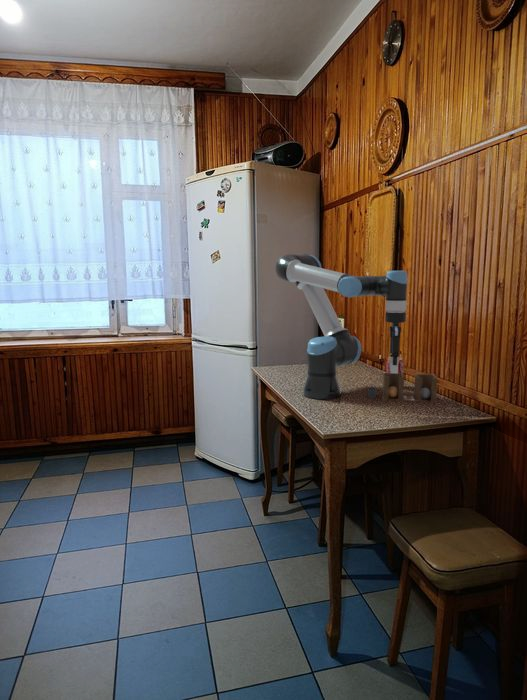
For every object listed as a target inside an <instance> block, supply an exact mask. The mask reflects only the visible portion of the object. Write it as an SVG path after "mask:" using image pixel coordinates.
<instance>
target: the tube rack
mask: <svg viewBox="0 0 527 700" xmlns="http://www.w3.org/2000/svg"><path fill="white" fill-rule="evenodd" d="M382 375H383V377H382V378H383V379H382V394H381V398H382V400H383V401H404V402H405V401H406V402H407V401H408V402H426V403H428V402H431V403H432V402H433V403H437V402H438V401H437V395H438V394H437V392H438V391H437V390H438V389H437V388H438V377H437V376H436V375H435V374H433V373H432V374H431V373H414V384H413V385H414V387H413V395H404V388H405V387H404V385H405V384H404V383H405V377H404V373H403V374H402V373H398V374H396V373H386V372H383V374H382ZM392 386H393V387H396V388H397V389H398V396H397V397H395V398H391V397H389V387H392ZM422 388H428V389H429V390H430V391H431V396H430V397H429V398H428V399H423V398H421V394H422Z"/></svg>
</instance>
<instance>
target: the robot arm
mask: <svg viewBox="0 0 527 700" xmlns="http://www.w3.org/2000/svg"><path fill="white" fill-rule="evenodd" d="M274 268H275V269H274V270H275V271H274V272H275V273H276V276H277V277H278V278H279V279H281V280H282V281H284V282H290V283H295V285H296V287H297V289H298V290H301V291H303V294H304V296H305V298H306V300H307V302H308V304H309V306H310V309H311V311H312V312H313V315H314V317H315V319H316V321H317V324H318V325H319V327H320V329H321V331H322V333H323V335H324V336H317V337H314V338H311V339H309V341H308V343H307V349H306V352H307V355H306V356H307V362H306V363H307V376H306V379H305V383H304V386H303V388H302V395H303V396H304V397H307V398H309V399H315V400H316V399H317V400H331V399H336V398H339V397H340V396H341V388H340V385H339V381H338V379H337V367H342V366H349V365H350V364H354V363H356V362H357V361H358V360H359V359H360V357H361V353H362V343H361V342H360V340H359V339H358V337H355V336H353V335H351V333H350V332H349V329H348V328H345V327H343V326H342V323H341V321H340V319H339V317H338V315H337V313H336V311H335V310H334V307H333V305H332V303H331V301H330V299H329V297H328V294H327V292H326V290H329V291H332V292H335V293H339V294H340V295H341V296H343V297H344V298H345V297H346V298H356V297H368V296H369V297H370V296H385V311H386V312H385V315H384V316H385V317H384V318H385V322H387V323H391V326H389V338H390V341H389V345H390V346H389V355H390V354H391V355H390V357H391V363H390V371H391V373H396V374H398V358H399V357H398V356H400V340H401V339H400V338H401V332H402V327H401V326H400V323H405V322H406V321H407V313H406V311H407V306H408V305H409V303H408V302H407V293H408V292H407V291H408V284H409V283H408V272H407V271H406V270H387V272H386V274H385V275H363V276H360V275H359V276H357V275H352V274H347V273H343V272H340V271H335V270H331V269H327V268H322V263H321V261H320V260H319V259H318V258H317V257H316V256H315V255H310V254H308V253H307V254H305V253H304V254H291V253H288V254H283V255H282V256H280V257H279V258H278V259H277V261H276V262H275V266H274Z"/></svg>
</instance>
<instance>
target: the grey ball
mask: <svg viewBox="0 0 527 700" xmlns="http://www.w3.org/2000/svg"><path fill="white" fill-rule="evenodd" d="M430 396H431V391H430V390H429V389H428V388H422V394H421V398H423V399H428V398H429V397H430Z"/></svg>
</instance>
